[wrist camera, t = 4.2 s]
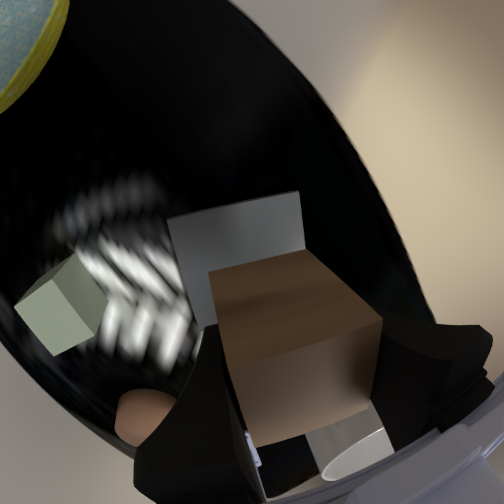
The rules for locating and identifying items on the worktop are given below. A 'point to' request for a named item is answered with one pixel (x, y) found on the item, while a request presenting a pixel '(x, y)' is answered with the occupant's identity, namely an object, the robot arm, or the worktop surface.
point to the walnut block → (294, 344)
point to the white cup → (349, 444)
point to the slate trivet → (232, 241)
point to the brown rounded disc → (141, 414)
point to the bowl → (27, 42)
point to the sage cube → (63, 306)
